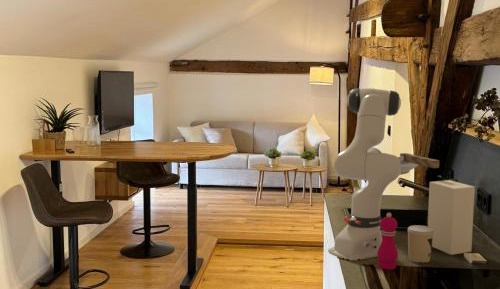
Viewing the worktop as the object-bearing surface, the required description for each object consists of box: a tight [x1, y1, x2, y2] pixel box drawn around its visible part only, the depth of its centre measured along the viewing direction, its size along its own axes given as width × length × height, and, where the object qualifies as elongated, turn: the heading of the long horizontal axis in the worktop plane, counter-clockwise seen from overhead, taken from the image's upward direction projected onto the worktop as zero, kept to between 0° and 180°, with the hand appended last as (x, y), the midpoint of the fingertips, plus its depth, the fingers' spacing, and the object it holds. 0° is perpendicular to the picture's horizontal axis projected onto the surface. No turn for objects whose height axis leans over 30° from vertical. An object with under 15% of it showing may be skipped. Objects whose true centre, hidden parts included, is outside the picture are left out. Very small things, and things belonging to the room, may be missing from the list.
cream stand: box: [427, 179, 476, 256], centre depth 219 cm, size 14×10×26 cm
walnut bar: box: [399, 152, 440, 169], centre depth 236 cm, size 22×3×3 cm, turn 22°
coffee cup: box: [407, 224, 434, 264], centre depth 207 cm, size 9×9×12 cm
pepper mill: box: [377, 212, 399, 270], centre depth 198 cm, size 7×7×20 cm
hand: (408, 156), depth 242 cm, fingers closed on walnut bar, 3 cm apart
